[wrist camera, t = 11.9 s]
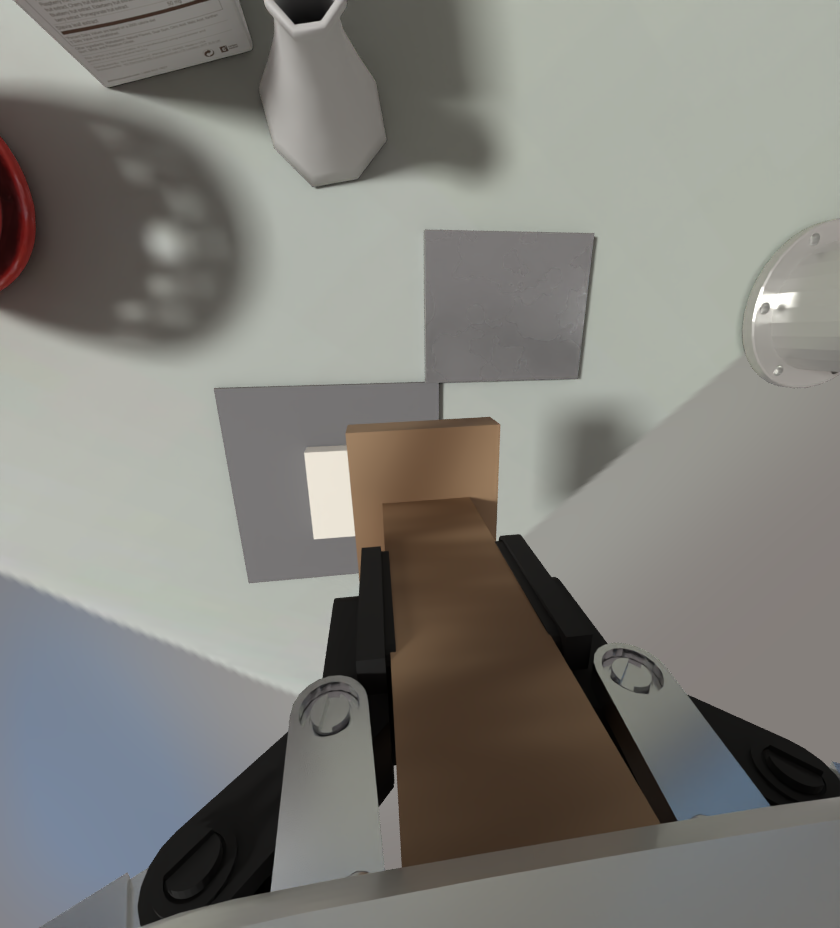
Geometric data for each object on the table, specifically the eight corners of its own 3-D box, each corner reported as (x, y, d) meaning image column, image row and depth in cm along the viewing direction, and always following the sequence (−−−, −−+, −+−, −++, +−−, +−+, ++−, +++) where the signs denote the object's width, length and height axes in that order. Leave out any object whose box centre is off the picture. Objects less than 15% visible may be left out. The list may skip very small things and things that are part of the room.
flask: (406, 150, 25) (432, 39, 15) (309, 210, 25) (277, 137, 16) (343, 14, 22) (328, -219, 13) (236, 82, 23) (147, -95, 13)
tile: (307, 446, 29) (424, 440, 31) (316, 529, 32) (425, 521, 33) (304, 452, 28) (428, 446, 29) (313, 539, 30) (428, 530, 31)
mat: (437, 381, 30) (438, 382, 29) (437, 563, 35) (438, 566, 34) (215, 388, 28) (213, 388, 27) (250, 580, 33) (248, 583, 32)
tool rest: (589, 235, 28) (594, 233, 27) (573, 377, 31) (577, 378, 30) (423, 231, 26) (425, 229, 26) (425, 381, 29) (426, 382, 29)
